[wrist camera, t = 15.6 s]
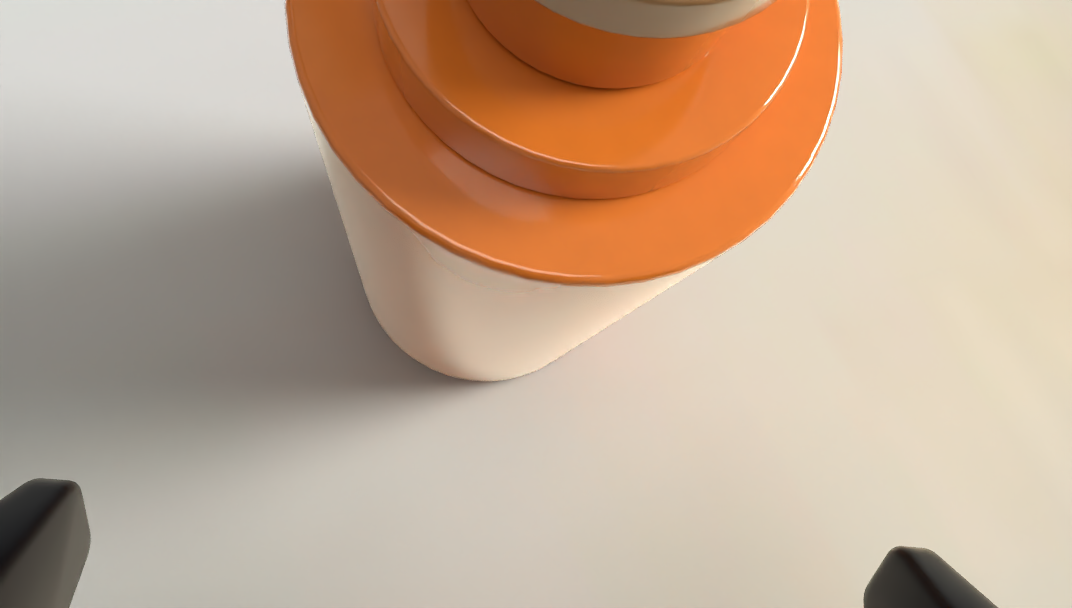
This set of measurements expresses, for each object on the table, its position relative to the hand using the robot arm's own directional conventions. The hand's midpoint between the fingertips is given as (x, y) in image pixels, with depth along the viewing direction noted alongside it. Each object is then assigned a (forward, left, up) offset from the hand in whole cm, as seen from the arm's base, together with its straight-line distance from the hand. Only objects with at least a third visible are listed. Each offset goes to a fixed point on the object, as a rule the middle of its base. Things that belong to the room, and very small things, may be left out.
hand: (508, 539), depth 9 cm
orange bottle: (+3, -5, -8) cm, 10 cm away
